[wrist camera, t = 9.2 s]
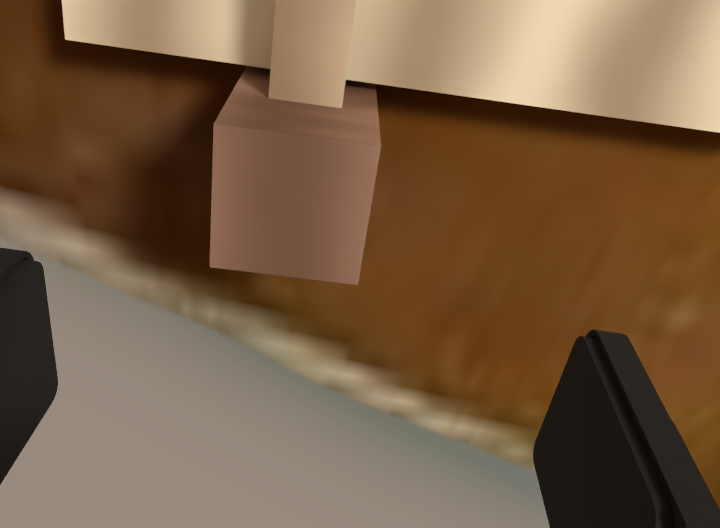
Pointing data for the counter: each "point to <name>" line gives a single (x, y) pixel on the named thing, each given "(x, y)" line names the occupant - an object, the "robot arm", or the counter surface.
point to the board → (466, 48)
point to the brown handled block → (297, 154)
